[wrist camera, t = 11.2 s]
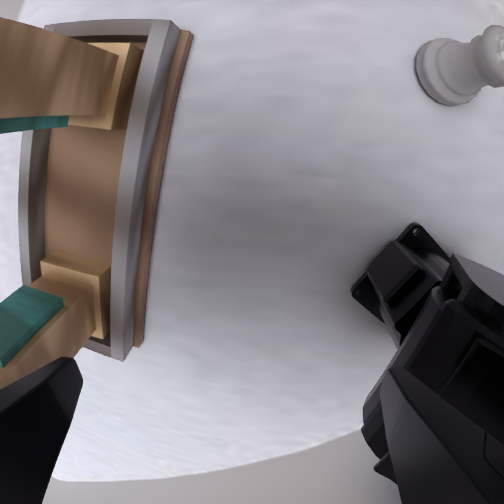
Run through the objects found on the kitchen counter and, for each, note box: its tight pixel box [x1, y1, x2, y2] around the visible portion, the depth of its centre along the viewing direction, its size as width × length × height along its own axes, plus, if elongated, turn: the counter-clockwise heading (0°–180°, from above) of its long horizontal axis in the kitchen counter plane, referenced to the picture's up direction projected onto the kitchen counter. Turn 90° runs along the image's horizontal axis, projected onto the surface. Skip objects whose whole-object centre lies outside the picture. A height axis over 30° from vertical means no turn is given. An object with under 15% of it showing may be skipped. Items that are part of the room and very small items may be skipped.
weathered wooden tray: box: [0, 17, 193, 362], centre depth 13 cm, size 22×10×14 cm, turn 167°
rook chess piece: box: [416, 25, 504, 106], centre depth 12 cm, size 4×4×8 cm
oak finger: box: [0, 251, 112, 389], centre depth 16 cm, size 5×5×13 cm
